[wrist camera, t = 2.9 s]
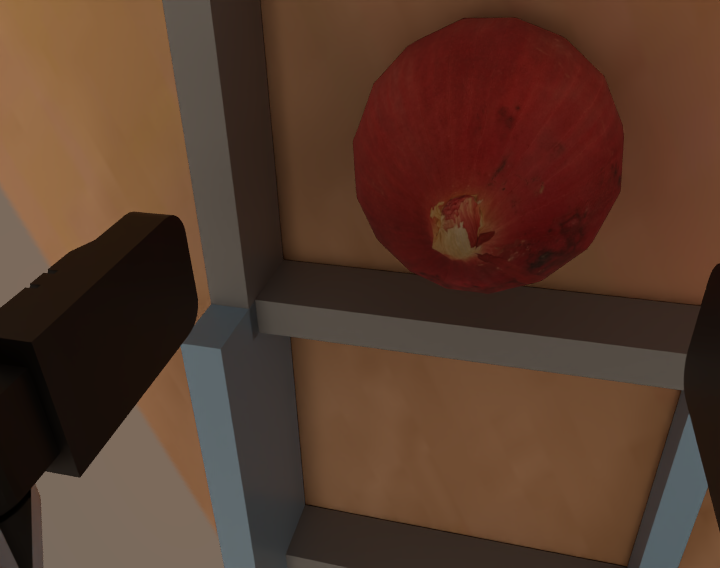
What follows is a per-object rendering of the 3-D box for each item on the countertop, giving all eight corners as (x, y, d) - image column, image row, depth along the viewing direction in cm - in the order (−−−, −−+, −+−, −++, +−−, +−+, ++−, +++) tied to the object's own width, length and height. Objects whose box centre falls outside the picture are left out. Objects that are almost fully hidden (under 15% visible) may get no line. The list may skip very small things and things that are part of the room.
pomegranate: (661, 110, 17) (728, 265, 10) (492, 244, 20) (461, 430, 13) (501, -62, 16) (463, -12, 9) (349, 108, 19) (238, 237, 12)
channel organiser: (936, -209, 13) (1118, -248, 9) (653, 592, 26) (672, 729, 22) (197, -179, 16) (73, -196, 12) (280, 518, 29) (235, 624, 25)
